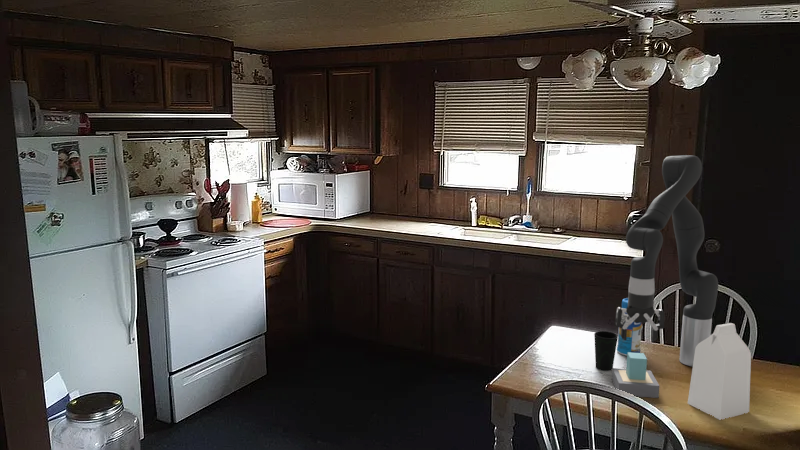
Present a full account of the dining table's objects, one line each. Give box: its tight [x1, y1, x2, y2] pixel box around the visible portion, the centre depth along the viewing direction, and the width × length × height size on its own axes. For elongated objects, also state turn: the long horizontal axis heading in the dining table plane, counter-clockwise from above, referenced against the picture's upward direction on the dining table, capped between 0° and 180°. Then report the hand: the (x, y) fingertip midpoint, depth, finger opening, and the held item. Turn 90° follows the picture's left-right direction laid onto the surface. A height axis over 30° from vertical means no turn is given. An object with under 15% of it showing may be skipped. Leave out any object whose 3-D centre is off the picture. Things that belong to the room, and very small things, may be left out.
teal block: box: [625, 352, 648, 380], centre depth 201 cm, size 5×5×7 cm
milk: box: [687, 322, 752, 421], centre depth 187 cm, size 12×12×26 cm
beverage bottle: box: [616, 297, 643, 357], centre depth 231 cm, size 8×8×20 cm
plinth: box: [611, 367, 660, 399], centre depth 202 cm, size 12×12×4 cm
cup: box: [594, 330, 618, 372], centre depth 218 cm, size 8×8×12 cm
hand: (638, 340), depth 199 cm, fingers open, 8 cm apart
